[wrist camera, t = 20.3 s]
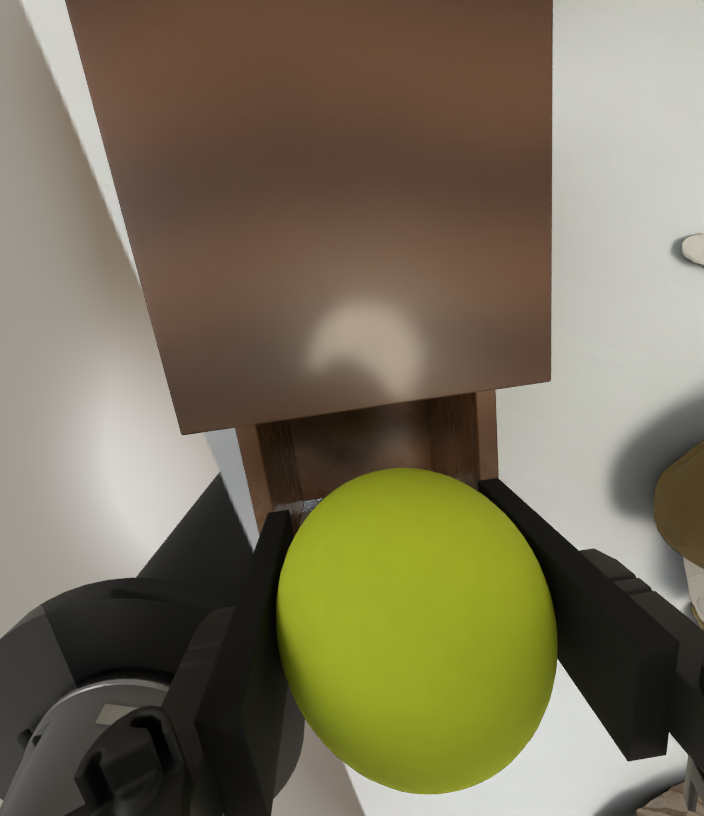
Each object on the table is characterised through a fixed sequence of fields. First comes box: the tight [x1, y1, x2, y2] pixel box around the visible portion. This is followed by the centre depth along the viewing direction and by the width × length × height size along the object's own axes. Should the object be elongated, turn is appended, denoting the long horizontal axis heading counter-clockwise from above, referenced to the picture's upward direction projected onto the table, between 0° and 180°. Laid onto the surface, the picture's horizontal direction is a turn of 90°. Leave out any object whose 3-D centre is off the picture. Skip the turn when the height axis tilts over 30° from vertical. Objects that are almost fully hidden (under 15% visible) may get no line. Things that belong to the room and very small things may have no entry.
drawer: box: [235, 390, 498, 537], centre depth 18 cm, size 18×12×9 cm, turn 8°
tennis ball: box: [276, 468, 558, 794], centre depth 9 cm, size 7×7×7 cm
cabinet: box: [65, 0, 553, 435], centre depth 15 cm, size 14×13×11 cm
